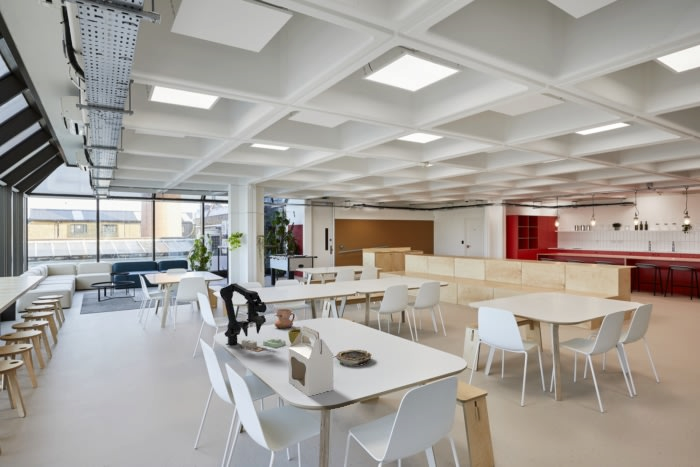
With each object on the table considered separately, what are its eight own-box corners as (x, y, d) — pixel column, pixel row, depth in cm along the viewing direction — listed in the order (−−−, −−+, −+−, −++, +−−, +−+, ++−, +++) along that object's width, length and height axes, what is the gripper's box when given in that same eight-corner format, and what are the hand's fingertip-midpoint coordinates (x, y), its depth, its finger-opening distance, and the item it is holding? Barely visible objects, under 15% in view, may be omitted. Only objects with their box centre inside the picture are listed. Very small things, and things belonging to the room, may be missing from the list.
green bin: (263, 345, 264) (263, 341, 264) (273, 342, 271) (273, 338, 271) (274, 348, 257) (274, 343, 257) (285, 345, 264) (285, 340, 264)
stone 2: (272, 345, 262) (272, 339, 262) (277, 344, 265) (277, 338, 265) (276, 346, 260) (276, 340, 260) (281, 345, 263) (281, 339, 263)
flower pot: (300, 346, 262) (300, 332, 262) (288, 345, 264) (288, 332, 264) (304, 342, 271) (304, 329, 271) (292, 342, 273) (292, 329, 273)
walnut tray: (238, 347, 259) (238, 346, 259) (247, 345, 265) (247, 343, 265) (257, 352, 247) (257, 351, 247) (266, 350, 253) (266, 348, 253)
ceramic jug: (276, 330, 306) (277, 312, 307) (270, 326, 319) (271, 309, 319) (298, 328, 316) (298, 310, 316) (291, 324, 328) (291, 307, 328)
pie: (386, 362, 230) (386, 353, 230) (353, 374, 210) (353, 364, 210) (353, 352, 250) (353, 344, 250) (320, 362, 231) (320, 354, 231)
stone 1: (241, 346, 260) (241, 340, 260) (246, 345, 263) (246, 339, 263) (245, 347, 257) (245, 341, 257) (250, 346, 260) (250, 340, 260)
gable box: (288, 382, 197) (288, 326, 197) (311, 376, 204) (311, 323, 205) (309, 397, 178) (308, 335, 179) (333, 390, 186) (333, 331, 186)
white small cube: (247, 348, 255) (247, 342, 255) (252, 346, 259) (252, 340, 259) (252, 349, 253) (252, 343, 253) (256, 347, 257) (256, 341, 257)
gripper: (248, 314, 244) (248, 339, 244) (271, 310, 259) (271, 334, 259) (237, 312, 251) (237, 337, 251) (260, 308, 266) (260, 331, 266)
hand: (252, 335), depth 256 cm, fingers open, 9 cm apart
